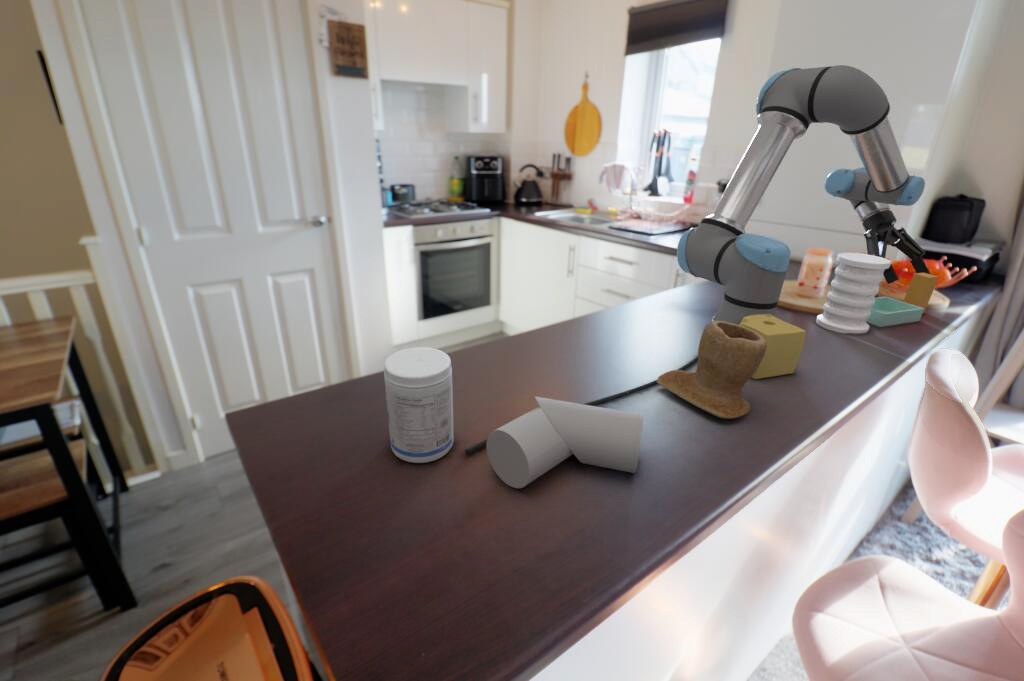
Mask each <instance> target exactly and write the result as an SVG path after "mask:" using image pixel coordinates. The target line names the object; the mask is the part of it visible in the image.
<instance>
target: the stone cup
mask: <svg viewBox="0 0 1024 681" xmlns="http://www.w3.org/2000/svg"><path fill="white" fill-rule="evenodd" d="M765 352H766V341H765V339H764V338H763V337H762V336H761V335H760V334H758V333H757V332H755V331H753V330H750V329H748V328H745V327H743V326H740V325H737V324H733V323H728V322H725V321H713V322H711V323H710V322H709V323H708V324H707V325H706V327H705V328H704V329H703V331H702V333H701V336H700V340H699V344H698V351H697V356H698V361H697V366H696V370H695V371H694V372H693V371H690V370H684V371H683V370H678V369H673V370H669V371H666V372H664V373H663V374H661V375H659V376H658V377H657V379H656V380H657V381H656V382H657V383H658V384H657V385H659V386H661V387H663V388H664V389H666V390H668V391H669V392H671V393H672V394H674V395H676V396H677V397H679V398H680V399H683V400H684V401H686V402H688V403H690V404H691V405H693V406H695V407H697V408H699V409H701V410H702V411H704V412H707V413H709V414H711V415H712V416H715V417H718V418H719V419H725V420H732V419H739V418H741V417H743V416H746V414H748V413H749V412H750V409H751V404H750V402H748V400H746V398H744V397H743V396H742V390H743V389H744V387H745V385H746V383H747V382H748V381H749V380H750V379H751V378H752V377H751V376H752V375H753V374H754V373H755V371H756V370H757V368H758V366H759V364H760V363H761V361H762V359H763V357H764V355H765Z"/></svg>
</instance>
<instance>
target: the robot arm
mask: <svg viewBox="0 0 1024 681" xmlns="http://www.w3.org/2000/svg"><path fill="white" fill-rule="evenodd" d="M888 99H889V98H888V97H887V94H886V93H885V91H884V89H883V88H882V87H881V85H879V84H878V82H877V81H876V80H875V79H874V78H873V77H871V76H870V75H869V74H867V73H866V72H864V71H862V70H861V69H859V68H856V67H854V66H850V65H844V64H840V65H839V64H837V65H833V66H832V65H831V66H820V67H809V68H801V67H793V68H790V69H786V70H780V71H778V72H776V73H774V74H773V75H771V76H770V77H769V78H768V79H767V80H766V81H765V83H764V84H763V86H762V87H761V89H760V91H759V93H758V95H757V99H756V100H757V103H756V105H755V113H756V116H757V118H756V123H757V125H758V129H757V131H756V133H755V134H754V136H753V138H752V139H751V141H750V144H749V145H748V147H747V149H746V151H745V153H744V154H743V156H742V158H741V160H740V162H739V164H738V165H737V167H736V169H735V171H734V173H733V174H732V177H731V178H730V180H729V182H728V183H727V185H726V187H725V189H724V191H723V193H722V195H721V197H720V199H719V200H718V202H717V204H716V206H715V208H714V209H713V211H712V213H711V214H710V215H708V216H704V217H703V218H702V219H701V221H700V222H699V224H698V226H697V227H691V228H689V229H688V230H686V231H685V232H683V234H682V235H681V237H680V238H679V241H678V244H677V247H676V257H677V264H678V266H679V267H680V269H681V271H683V272H685V273H687V274H689V275H692V276H693V277H695V278H701V279H703V280H707V281H710V282H712V283H716V284H718V285H721V286H724V287H725V290H724V294H723V299H722V301H721V302H720V305H719V306H718V308H717V309H716V311H715V314H714V315H713V316H712V317H711V320H710V321H709V324H710V323H711V322H713V321H725V322H728V323H733V324H737V325H739V324H740V323H741V321H742V319H743V318H744V317H746V316H751V315H759V314H770V315H772V316H774V317H776V318H778V317H777V307H778V304H779V301H780V297H781V293H782V289H783V285H784V282H785V278H786V275H787V272H788V269H789V268H790V259H791V249H790V248H789V246H788V245H787V244H786V243H784V242H783V241H781V240H779V239H777V238H774V237H771V236H767V235H761V234H757V233H747V232H746V230H745V228H746V226H747V225H748V223H749V221H750V219H751V217H752V216H753V214H754V212H755V210H756V209H757V207H758V205H759V203H760V201H761V199H762V197H763V196H764V193H765V192H766V190H767V189H768V187H769V185H770V183H771V182H772V180H773V178H774V176H775V174H776V172H777V171H778V169H779V167H780V165H782V164H781V163H782V162H783V160H784V158H785V157H786V154H787V153H788V151H789V150H790V148H791V145H792V144H793V143H794V140H797V139H800V138H802V137H803V136H805V134H806V132H807V130H809V128H810V126H811V124H813V123H814V124H824V123H826V124H827V123H828V124H833V125H836V126H838V127H839V130H840V131H841V132H842V133H843V134H845V135H848V136H849V137H850V140H851V142H852V144H853V146H854V148H855V150H856V152H857V155H858V157H859V159H860V161H861V163H862V165H863V167H857V168H855V169H851V168H837V169H835V170H833V171H831V172H830V173H829V174H828V175H827V176H826V178H825V180H824V184H823V185H824V190H825V192H826V193H827V194H829V195H831V196H832V197H835V198H840V199H844V200H847V201H849V202H850V204H851V206H852V208H853V209H854V211H855V213H856V215H857V218H858V219H859V221H860V222H861V225H862V227H863V230H864V231H865V232H864V233H863V236H864V238H865V243H866V252H867V253H866V254H868V255H874V256H878V257H882V258H885V259H886V255H887V248H888V246H891V247H894V248H896V249H898V250H899V251H900V252H901V253H903V254H904V255H905V256H906V257H908V258H909V259H910V261H909V262H910V265H911V266H912V268H913V270H914V272H915V273H927V274H931V275H932V273H931V272H930V270H929V267H928V265H927V264H926V263H925V260H924V258H923V257H924V256H925V255H926V251H925V250H924V249H923V248H922V246H920V245H919V244H918V243H917V242H916V241H915V239H913V238H912V237H911V235H909V233H908V232H907V230H905V228H904V227H902V226H901V227H900V228H898V229H897V228H896V227H895V224H896V223H897V218H896V216H895V214H894V213H893V211H892V210H891V207H890V205H893V206H904V207H905V206H907V207H910V206H913V205H915V204H916V203H917V202H918V201H919V200H920V198H921V197H922V195H923V193H924V190H925V187H926V181H925V178H923V177H921V176H918V175H917V176H916V175H909V172H908V168H907V167H906V164H905V161H904V159H903V155H902V154H901V153H902V152H901V150H900V148H899V144H898V142H897V139H896V137H895V136H896V135H895V134H894V131H893V128H892V125H891V123H890V120H889V117H888V116H889V114H890V111H891V104H890V102H889V100H888ZM887 259H888V260H890V259H889V258H887ZM883 275H884V278H883V279H884V280H885V281H886V283H887V285H890V284H893V283H894V282H897V281H899V280H900V278H899V276H898V274H897V272H896V270H895V269H894V267H893V265H892V263H891V264H890V267H889V268H888V269H885V270H884V272H883ZM695 363H698V355H697V356H696V357H694V358H693V359H692V360H690V361H689V362H687V363H686V364H685V365H682V366H681V367H679V368H677V370H683V371H687V369H689V368H690V367H692V366H693V365H694V364H695ZM656 381H657V379H655V380H653V381H650V382H648V383H645V384H643V385H640V386H637V387H634V388H631V389H628V390H624V391H621V392H619V393H615V394H612V395H609V396H606V397H603V398H599V399H596V400H592V401H588V402H585V403H583V404H584V405H590V406H599V405H601V404H602V405H603V404H605V403H608V402H611V401H615V400H618V399H621V398H624V397H627V396H630V395H633V394H635V393H638V392H641V391H644V390H647V389H649V388H651V387H654V386H657V385H659V384H658V383H657V382H656ZM486 443H487V438H486V439H485V440H484V439H483V441H479V442H478V443H476V444H474V445H472V446H470V447H468V448H466V449H465V450H464V452H465V454H466V455H467V456H468V455H470V454H472V453H475V452H476V451H479V450H480V449H482V448H484V447H486Z"/></svg>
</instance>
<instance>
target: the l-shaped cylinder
mask: <svg viewBox="0 0 1024 681" xmlns="http://www.w3.org/2000/svg"><path fill="white" fill-rule="evenodd" d="M534 398H535V400H536V402H537V403H538V406H537V407H536V408H533V409H532V410H530V411H528V412H526V413H524V414H522V415H520V416H518V417H516V418H514V419H513V420H511V421H509V422H507V423H505V424H503V425H502V426H499V427H498V428H496V429H494V430H492V431H491V432H490V433H489V434H488V436H487V437H486V439H487V443H486V446H485V448H486V454H487V457H488V461H489V463H490V465H491V467H492V469H493V471H494V472H495V474H496V476H498V478H499V479H500V480H501V481H502V482H503V483H505V484H506V485H508V487H511V488H514V489H522V488H524V487H526V486H527V485H529V484H530V483H532V482H534V481H535V480H536V479H538V478H539V477H541V476H542V475H544V474H546V473H547V472H549V471H550V470H551V469H553V468H554V467H556V466H557V465H559V464H560V463H562V462H564V461H565V460H567V459H568V458H570V457H571V456H573V455H574V456H575V458H576V459H577V460H578V461H579V462H580V463H581V464H585V465H591V466H594V467H601V468H606V469H611V470H616V471H621V472H627V473H632V474H636V472H637V468H638V462H639V457H640V450H641V442H642V434H643V424H644V414H643V413H638V412H631V411H625V410H620V409H614V408H606V407H600V406H597V405H595V406H590V405H584V404H585V403H577V402H571V401H565V400H559V399H554V398H546V397H541V396H534Z"/></svg>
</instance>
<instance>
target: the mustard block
mask: <svg viewBox="0 0 1024 681" xmlns="http://www.w3.org/2000/svg"><path fill="white" fill-rule="evenodd" d="M939 278H940V276H938V275H935V274H932V273H931V274H927V273H916V272H914V273H913V275H912V277H911V280H910V283H909V285H908V287H907V290H906V292H905V296H904V298H903V301H902V302H905V303H908V304H911V305H915V306H918V307H921V308H924V311H923V313H922V314H924V313H925V312H926V309H927V307H928V305H929V302H930V300H931V297H932V295H933V292H934V290H935V289H936V288H935V287H936V285H937V282H938V281H939Z"/></svg>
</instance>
